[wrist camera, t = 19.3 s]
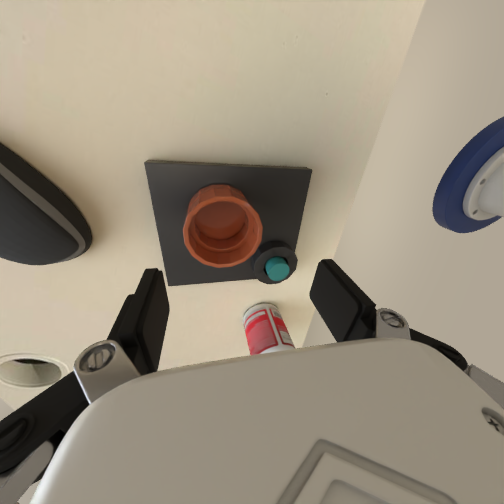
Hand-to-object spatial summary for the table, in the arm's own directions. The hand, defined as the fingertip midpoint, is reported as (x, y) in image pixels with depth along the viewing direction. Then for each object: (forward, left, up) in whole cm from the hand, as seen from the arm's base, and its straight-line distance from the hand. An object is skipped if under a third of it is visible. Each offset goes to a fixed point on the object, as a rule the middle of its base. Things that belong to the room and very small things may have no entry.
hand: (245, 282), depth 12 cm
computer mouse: (+18, -1, -13) cm, 22 cm away
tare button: (-6, +6, -10) cm, 13 cm away
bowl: (+1, 0, -11) cm, 11 cm away
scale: (-1, +2, -13) cm, 13 cm away
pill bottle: (-6, +18, -13) cm, 23 cm away
